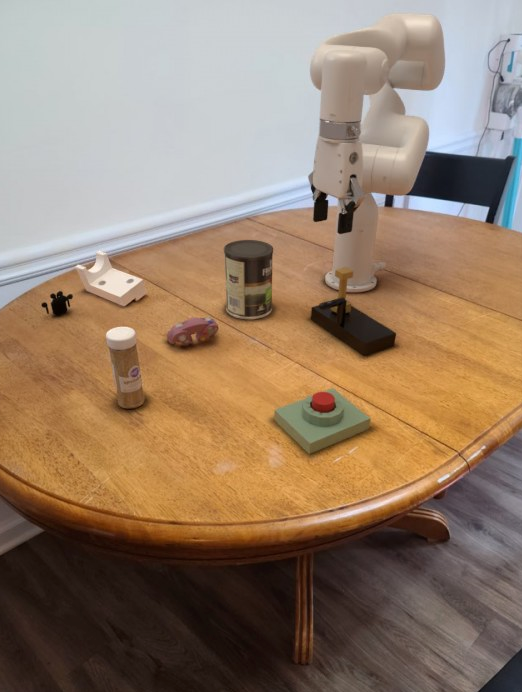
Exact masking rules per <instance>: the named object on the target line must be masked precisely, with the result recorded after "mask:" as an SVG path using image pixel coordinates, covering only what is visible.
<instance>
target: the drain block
mask: <svg viewBox="0 0 522 692" xmlns="http://www.w3.org/2000/svg"><path fill="white" fill-rule="evenodd" d="M323 392H328V393H330V394H332V395H333V396H334V397H335V404H334V409H333V411H332V412H329V413H320V412H317V411H314V410H313V409H312V397H313V395H314V394H315V393H314V394H311V395H308V396H305V398H303V399H300V400H297V401H295V402H291V403H288V404H287V405H284V406H281V407H278V408H276V409H274V416H273V417H274V418H273V419H274V422H275V423H276V424H278V425H279V427H280V428H281V429H283V430H284V432H286V433H287V434H288V435H289V436H290V437H291V438H292V439H293V440H294V441H295V443H297V444H298V445H299V446H300V447H301V448H302V449H303V450H304V451H305V452H306V453H308V454H309V455H311V454H314V453H316V452H318V451H320V450H323V449H325V448H327V447H330V446H332V445H335V444H337V443H339V442H341V441H345V440H346V439H349V438H351V437H353V436H356V435H358V434H360V433H362V432H365V431H367V430H369V429H370V425H371V419H372V418H371V417H370V416H369V415H367V414H366V413H365V412H363V410H361V409H360V408H358V407H357V406H356V405H355V404H353V403H352V402H351V401H350V400H348V399H347V398H346V397H344V395H342V394H341V393H340V392H338V391H337V390H336V389H335V388H331V389H327V390H324V391H323Z"/></svg>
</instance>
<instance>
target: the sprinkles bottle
mask: <svg viewBox="0 0 522 692" xmlns="http://www.w3.org/2000/svg"><path fill="white" fill-rule="evenodd" d="M105 338H106V345H107V347H108V350H109V356H110V364H111V371H112V376H113V380H114V386H115V387H114V388H115V390H116V395H117V403H118V406H119V407H121V408H123V409H127V410H128V409H137V408H139V407H140V406H142V405H143V404H144V403H145V400H146V399H145V395H144V388H143V378H142V371H141V366H140V360H139V354H138V347H137V343H138V340H137V339H138V338H137V333H136V330H135V329H133V328H132V327H130V326H117V327H113V328H110V329H108V331H107V332H106V333H105Z"/></svg>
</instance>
